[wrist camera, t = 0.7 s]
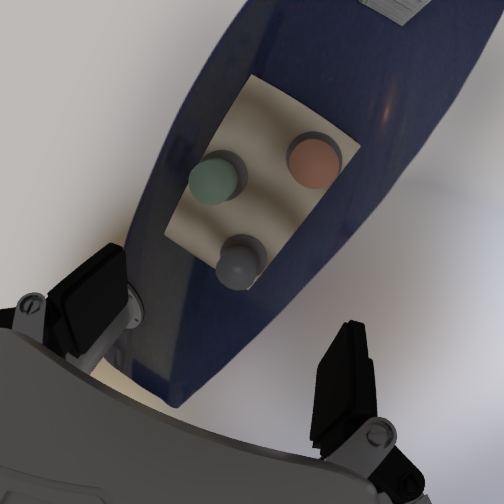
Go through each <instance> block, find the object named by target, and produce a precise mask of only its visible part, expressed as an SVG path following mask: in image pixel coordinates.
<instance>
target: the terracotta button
mask: <svg viewBox="0 0 504 504" xmlns="http://www.w3.org/2000/svg"><path fill="white" fill-rule="evenodd" d="M289 169H290V172H291V174H292V176H293V178H294V179H295V180H296V181H297V182H298V183H299V184H300V185H302V186H304V187H306V188H309V189H321V188H324V187H326V186H328V185H330V184H331V183H332V182H333V181H334V180H335V178H336V177H337V175H338V172H339V159H338V156H337V154H336V152H335V151H334V149H333V148H332V147H331V146H330V145H329V144H328V143H327V142H325V141H323V140H320V139H314V138H312V139H307V140H304V141H302V142H300V143H299V144H298V145H297V146H296V147H295V149H294V150H293V152H292V153H291V156H290V159H289Z"/></svg>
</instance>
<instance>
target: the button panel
mask: <svg viewBox="0 0 504 504" xmlns="http://www.w3.org/2000/svg"><path fill="white" fill-rule="evenodd" d="M312 138H314V139H320V140H323V141H325V142H327V143H328V144H329V145H330V146H331V147H332V148H333V149H334V151H335V152H336V154H337V156H338V159H339V172H338V175H337V177H338V176H339V174H340V173H341V172H342V170H343V169H344V168H345V166H346V165H347V164H348V163H349V161H350V160H351V159H352V157H353V156H354V155H355V153H356V152H357V151H358V149H359V148H360V147H361V146H360V145H359V144H358V143H357V142H355V141H354V140H353V139H351V138H350V137H349V136H348V135H346V134H345V133H344V132H342V131H341V130H339V129H338V128H337V127H335V126H334V125H333V124H331V123H330V122H328V121H327V120H325V119H324V118H323V117H321V116H320V115H318V114H317V113H315V112H314V111H312V110H311V109H309V108H308V107H306V106H305V105H303V104H301V103H300V102H298V101H297V100H295V99H293V98H292V97H290V96H289V95H287V94H285V93H284V92H282V91H280V90H279V89H277V88H275V87H273V86H272V85H270V84H268V83H266V82H264V81H263V80H261V79H259V78H257V77H255V76H253V75H251V76H250V78H249V79H248V81H247V82H246V84H245V85H244V87H243V89H242V90H241V92H240V93H239V95H238V96H237V98H236V100H235V101H234V103H233V105H232V106H231V108H230V109H229V111H228V113H227V114H226V116H225V118H224V119H223V121H222V123H221V125H220V126H219V128H218V130H217V131H216V133H215V135H214V137H213V138H212V140H211V142H210V144H209V146H208V147H207V149H206V151H205V153H204V155H203V156H202V158H201V160H200V162H199V163H201V162H204V161H206V160H208V159H211V158H222V159H225V160H227V161H228V162H230V163H231V164H232V165H233V167H234V168H235V170H236V172H237V176H238V183H237V187H236V189H235V191H234V192H233V193H232V194H231V195H230V196H229V197H228V198H227V199H226V200H225V201H224V202H222V203H221V204H218V205H213V206H210V205H205V204H202V203H201V202H199V201H198V200H196V199H195V198H194V196H193V195H192V193H191V191H190V189H189V183H188V185H187V187H186V189H185V191H184V193H183V195H182V197H181V199H180V201H179V203H178V205H177V207H176V209H175V211H174V214H173V216H172V218H171V220H170V222H169V224H168V226H167V229H166V231H165V233H164V235H165V236H167V237H168V238H170V239H171V240H173V241H174V242H176V243H177V244H179V245H180V246H182V247H183V248H185V249H186V250H188V251H189V252H191V253H192V254H193V255H195V256H196V257H198V258H199V259H201V260H202V261H204V262H205V263H207V264H209V265H210V266H212V267H213V268H215V269H216V265H217V263H218V261H219V259H220V258H221V256H222V255H223V253H224V252H225V251H226V250H227V249H228V248H230V247H232V246H243V247H246V248H248V249H250V250H251V251H253V252H254V253H255V255H256V256H257V258H258V260H259V270H258V272H257V275H256V278H255V280H254V282H255V281H256V280H257V279H258V278H259V276H260V275H261V274H262V273H263V271H264V270H265V269H266V268H267V266H268V265H269V264H270V263H271V261H272V260H273V259H274V258H275V256H276V255H277V254H278V253H279V251H280V250H281V249H282V248H283V246H284V245H285V244H286V243H287V241H288V240H289V239H290V237H291V236H292V235H293V234H294V232H295V231H296V230H297V229H298V227H299V226H300V225H301V223H302V222H303V221H304V220H305V218H306V217H307V216H308V215H309V213H310V212H311V211H312V209H313V208H314V207H315V206H316V204H317V203H318V202H319V200H320V199H321V198H322V197H323V195H324V194H325V193H326V191H327V190H328V189H329V187H330V186H331V185H332V184H333V182H334V181H335V180H336V178H337V177H336V178H335V180H334V181H333V182H332V183H331V184H330V185H328V186H326V187H324V188H321V189H309V188H306V187H304V186H302V185H300V184H299V183H298V182H297V181H296V180H295V179H294V178H293V176H292V174H291V172H290V169H289V159H290V156H291V153H292V152H293V150H294V149H295V147H296V146H297V145H298V144H299V143H300V142H302V141H304V140H307V139H312ZM254 282H253V284H254ZM253 284H252V285H253ZM252 285H251V286H252ZM251 286H250V287H251ZM250 287H249V288H247V290H249V289H250Z"/></svg>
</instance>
